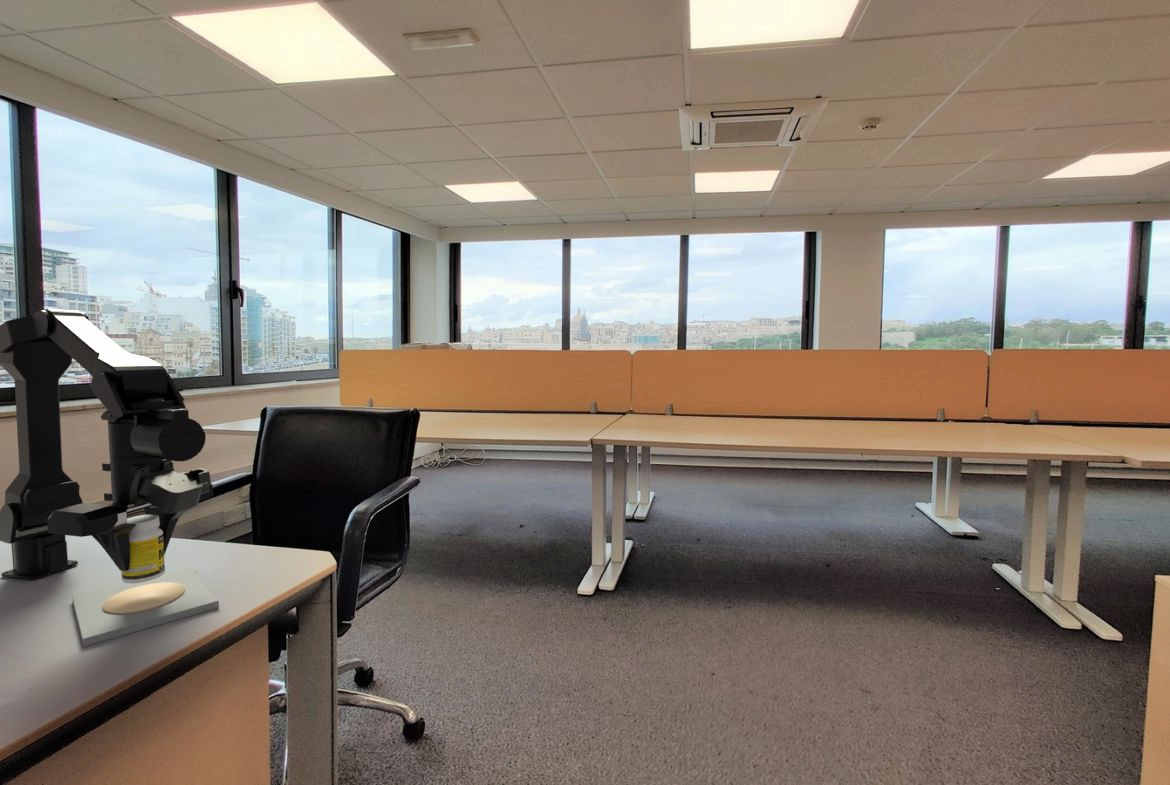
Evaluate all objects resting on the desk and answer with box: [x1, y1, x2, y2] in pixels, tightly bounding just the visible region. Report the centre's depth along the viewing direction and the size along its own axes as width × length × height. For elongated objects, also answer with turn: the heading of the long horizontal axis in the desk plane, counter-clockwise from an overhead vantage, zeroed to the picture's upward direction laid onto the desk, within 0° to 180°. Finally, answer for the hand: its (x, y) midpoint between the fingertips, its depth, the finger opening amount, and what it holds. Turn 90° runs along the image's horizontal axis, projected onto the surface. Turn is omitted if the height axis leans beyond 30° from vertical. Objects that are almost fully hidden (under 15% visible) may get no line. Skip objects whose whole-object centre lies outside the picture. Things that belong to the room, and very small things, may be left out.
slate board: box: [72, 567, 220, 648], centre depth 76 cm, size 16×14×1 cm
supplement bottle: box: [120, 514, 166, 583], centre depth 75 cm, size 5×5×8 cm
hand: (142, 563), depth 75 cm, fingers closed on supplement bottle, 5 cm apart
